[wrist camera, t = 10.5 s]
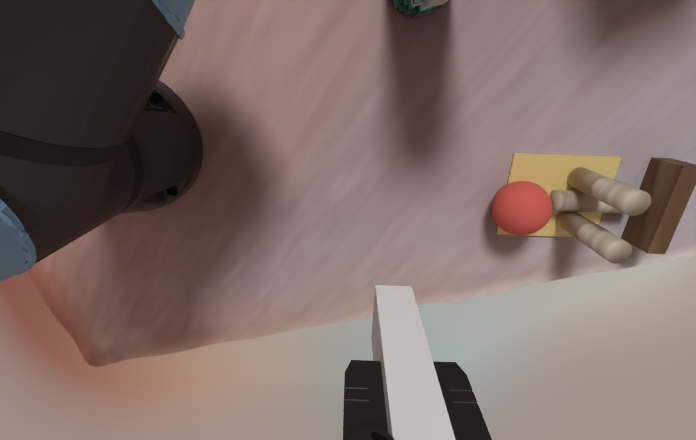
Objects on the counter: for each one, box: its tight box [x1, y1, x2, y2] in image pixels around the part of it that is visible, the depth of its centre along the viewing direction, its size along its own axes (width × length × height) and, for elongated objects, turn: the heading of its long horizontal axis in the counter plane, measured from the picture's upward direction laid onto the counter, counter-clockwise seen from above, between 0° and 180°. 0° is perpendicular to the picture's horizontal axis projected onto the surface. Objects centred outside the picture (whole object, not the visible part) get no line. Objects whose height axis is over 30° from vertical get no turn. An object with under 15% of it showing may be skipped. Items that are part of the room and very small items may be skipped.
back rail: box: [622, 158, 696, 254], centre depth 38 cm, size 2×10×4 cm, turn 178°
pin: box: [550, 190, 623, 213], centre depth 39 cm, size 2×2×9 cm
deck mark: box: [496, 153, 622, 237], centre depth 40 cm, size 12×10×1 cm
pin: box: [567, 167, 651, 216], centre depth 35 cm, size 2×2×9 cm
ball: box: [491, 181, 552, 235], centre depth 37 cm, size 6×6×6 cm
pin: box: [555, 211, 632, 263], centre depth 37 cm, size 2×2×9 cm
